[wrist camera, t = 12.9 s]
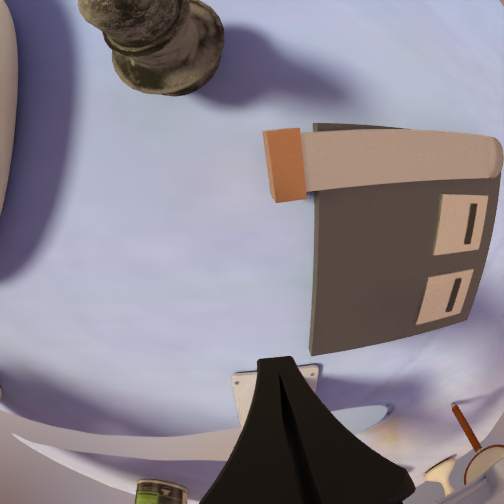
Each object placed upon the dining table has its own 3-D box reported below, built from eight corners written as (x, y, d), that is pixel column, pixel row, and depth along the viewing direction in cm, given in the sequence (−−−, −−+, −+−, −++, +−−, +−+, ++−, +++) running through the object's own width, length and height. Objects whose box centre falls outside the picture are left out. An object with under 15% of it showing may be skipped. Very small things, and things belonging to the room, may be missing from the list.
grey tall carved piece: (217, 9, 13) (203, -117, 2) (233, 88, 15) (236, 14, 4) (127, 33, 13) (19, -43, 2) (140, 111, 15) (9, 102, 4)
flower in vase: (459, 451, 52) (485, 507, 29) (438, 468, 56) (460, 521, 33) (433, 463, 50) (458, 526, 27) (411, 479, 54) (432, 538, 32)
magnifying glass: (432, 419, 35) (474, 506, 16) (430, 417, 34) (473, 507, 16) (472, 388, 33) (521, 471, 14) (471, 385, 32) (522, 471, 14)
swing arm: (270, 194, 16) (275, 203, 14) (262, 131, 15) (266, 131, 13) (487, 176, 16) (504, 182, 14) (488, 132, 15) (505, 135, 13)
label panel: (461, 314, 24) (471, 324, 23) (308, 348, 24) (313, 363, 22) (495, 145, 17) (509, 148, 15) (312, 123, 16) (321, 122, 15)
